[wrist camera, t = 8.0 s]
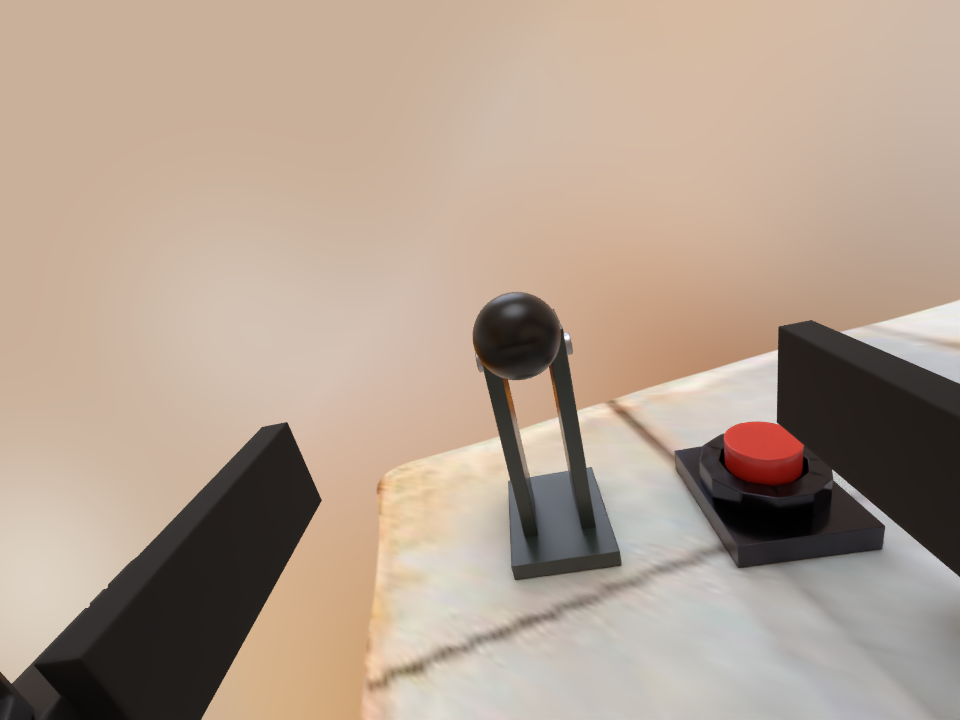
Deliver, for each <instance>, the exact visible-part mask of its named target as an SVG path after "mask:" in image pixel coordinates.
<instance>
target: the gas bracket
mask: <svg viewBox="0 0 960 720" xmlns="http://www.w3.org/2000/svg"><path fill="white" fill-rule="evenodd" d="M552 310H553V311H554V309H552ZM554 313H555V311H554ZM555 315H556V313H555ZM556 317H557V315H556ZM557 319H558V317H557ZM558 322H559V325H560V331H561V341H560V347H559V350H558V353H557V355H556V357H555V359H554V360H553V362H552V363H551V364H550V366H549V368H550V374H551V379H552V385H553V390H554V396H555V401H556V407H557V412H558V417H559V423H560V428H561V434H562V439H563V444H564V450H565V455H566V461H567V466H568V471H565V472H559V473H553V474H547V475H541V476H535V477H530V476H529V472H528V468H527V463H526V459H525V454H524V450H523V445H522V441H521V436H520V432H519V428H518V423H517V418H516V414H515V410H514V405H513V401H512V397H511V392H510V387H509V383H508V379H505V378H502V377H499V376H497V375H495V374H493V373H492V372H491V371H489V370H488V369H487V368H486V367H485V366H484V365H483V364H482V362H481V361H480V360H479V358H478V356H477V354H476V352H475V356H476V362H477V367H478V370H479V371H480V372H484V373H485V378H486V382H487V386H488V390H489V394H490V398H491V402H492V406H493V411H494V415H495V419H496V423H497V427H498V431H499V435H500V439H501V444H502V448H503V452H504V456H505V460H506V464H507V468H508V472H509V476H510V480H511V481H508V487H509V514H510V541H511V567H512V571H513V574H514V578H515V580H516V579H524V578H531V577H538V576H545V575H552V574H560V573H567V572H574V571H581V570H589V569H596V568H603V567H610V566H617V565H621V558H620V551H619V548H618V545H617V542H616V539H615V536H614V533H613V530H612V527H611V524H610V521H609V518H608V515H607V512H606V509H605V506H604V503H603V500H602V497H601V494H600V491H599V488H598V485H597V482H596V479H595V476H594V473H593V470H592V468H591V467H590V468H586V463H585V457H584V451H583V445H582V440H581V434H580V428H579V422H578V416H577V410H576V404H575V398H574V392H573V386H572V380H571V374H570V368H569V362H568V356H567V355H570V354H573V349H572V343H571V338H570V335H569V333H568V332H567V333H564V332H563V328H562V326H561V324H560V321H559V319H558Z"/></svg>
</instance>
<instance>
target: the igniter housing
mask: <svg viewBox="0 0 960 720" xmlns="http://www.w3.org/2000/svg"><path fill="white" fill-rule="evenodd" d="M675 464H676V469H677V471H678V472H679V474H680V476H681V477H682V479H683V480H684V482H685V484H686V485H687V487H688V488H689V490H690V491H691V493H692V495H693V496H694V498H695V499H696V501H697V503H698V504H699V506H700V507H701V509H702V510H703V512H704V514H705V515H706V517H707V518H708V520H709V522H710V523H711V525H712V526H713V528H714V530H715V531H716V533H717V534H718V536H719V537H720V539H721V541H722V542H723V544H724V545H725V547H726V549H727V550H728V552H729V553H730V555H731V557H732V558H733V560H734V561H735V563H736V564H737V566H738V567H739V568H740V567H748V566H755V565H763V564H770V563H778V562H785V561H793V560H800V559H808V558H815V557H822V556H830V555H837V554H845V553H852V552H860V551H867V550H875V549H882V547H883V539H884V531H885V525H883V524H882V523H881V522H880V521H879V520H878V519H877V518H875V517H874V516H873V515H872V514H871V513H870V512H869V511H867V510H866V509H865V508H864V507H863V506H862V505H861V504H860V503H858V502H857V501H856V500H855V499H854V498H853V497H852V496H850V495H849V494H848V493H847V492H846V491H845V490H844V489H842V488H841V487H840V486H839V485H838V484H837V483H836V482H835V481H833V474H832V469H831V468H830V467H829V466H828V465H827V464H826V463H824V462H823V461H822V460H821V459H820V458H818V457H817V456H816V455H815V454H814V453H813V452H811V451H810V450H809V449H808V448H807V447H805V446H804V454H803V472H802V474H801V476H800V477H799V478H798V479H797V480H795V481H794V482H791V483H785V484H779V485H768V484H761V483H754V482H747V481H745V480H743V479H741V478H739V477H737V476H735V475H733V474H732V473H731V472H730V471H729V470H728V469H727V467H726V465H725V462H724V434H722V435H719V436H718V437H716V438H714V439H713V440H711V441H710V442H708V443H706V444H705V445H704V446H702V447H696V448H689V449H683V450H677V451H675Z"/></svg>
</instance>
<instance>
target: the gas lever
mask: <svg viewBox="0 0 960 720" xmlns="http://www.w3.org/2000/svg"><path fill="white" fill-rule="evenodd" d="M560 341H561V331H560V325H559V322H558V319H557V317H556V315H555V313H554V311H553V310H552V309H551V308H550V306H549V305H548V304H546V303H545V302H544V301H543V300H541V299H540V298H538V297H536V296H534V295H531V294H528V293H523V292H512V293H506V294H503V295H500V296H498V297H496V298H494V299H493V300H491V301H490V302H489V303H487V305H485V306H484V308H483V309H482V310H481V311H480V313H479V315H478V316H477V319H476V321H475V324H474V329H473V344H474V348H475V351H476V354H477V356H478V358H479V360H480V361H481V362H482V364H483V365H484V366H485V367H486V368H487V369H488V370H489V371H491V372H492V373H493V374H495V375H497V376H499V377H502V378H505V379H509V380H524V379H528V378H532V377H534V376H536V375H538V374H540V373H542V372H543V371H544V370H545V369H546V368H548V367H549V366H550V364H551V363H552V362H553V360H554V359H555V357H556V355H557V353H558V350H559V347H560Z"/></svg>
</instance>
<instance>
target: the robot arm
mask: <svg viewBox="0 0 960 720" xmlns="http://www.w3.org/2000/svg"><path fill="white" fill-rule="evenodd" d="M778 336H779V337H778V338H779V339H778V392H777V423H778V424H779V425H781V426H782V427H783V428H784V429H785V430H787V431H788V432H789V433H790V434H791V435H792V436H794V437H795V438H796V439H797V440H798V441H800V442H801V443H802V444H803V445H804V446H805V447H807V448H808V449H809V450H810V451H811V452H813V453H814V454H815V455H816V456H817V457H818V458H820V459H821V460H822V461H823V462H824V463H826V464H827V465H828V466H829V467H830V468H831V469H833V470H834V471H835V472H836V473H837V474H839V475H840V476H841V477H842V478H843V479H845V480H846V481H847V482H848V483H849V484H850V485H852V486H853V487H854V488H855V489H856V490H858V491H859V492H860V493H861V494H862V495H863V496H865V497H866V498H867V499H868V500H869V501H871V502H872V503H873V504H874V505H875V506H876V507H878V508H879V509H880V510H881V511H882V512H884V513H885V514H886V515H887V516H888V517H889V518H891V519H892V520H893V521H894V522H895V523H897V524H898V525H899V526H900V527H901V528H902V529H904V530H905V531H906V532H907V533H908V534H910V535H911V536H912V537H913V538H914V539H916V540H917V541H918V542H919V543H920V544H921V545H923V546H924V547H925V548H926V549H927V550H929V551H930V552H931V553H932V554H933V555H934V556H936V557H937V558H938V559H939V560H940V561H942V562H943V563H944V564H945V565H946V566H947V567H949V568H950V569H951V570H952V571H953V572H955V573H956V574H957V575H958V576H959V577H960V384H959V383H956V382H954V381H952V380H949V379H947V378H945V377H942V376H940V375H938V374H935V373H933V372H931V371H928V370H926V369H924V368H921V367H919V366H917V365H915V364H912V363H910V362H908V361H905V360H903V359H901V358H898V357H896V356H894V355H891V354H889V353H887V352H884V351H882V350H880V349H877V348H875V347H873V346H870V345H868V344H866V343H863V342H861V341H859V340H856V339H854V338H852V337H849V336H847V335H845V334H842V333H840V332H838V331H835V330H833V329H831V328H828V327H826V326H824V325H821V324H819V323H816V322H814V321H812V320H810V321H805V322H800V323H795V324H790V325H784V326H779V334H778ZM321 501H322V500H321V498H320V496H319V493H318V491H317V489H316V486H315V484H314V482H313V480H312V477H311V475H310V473H309V471H308V468H307V466H306V464H305V462H304V459H303V457H302V455H301V452H300V450H299V448H298V445H297V443H296V441H295V439H294V436H293V434H292V432H291V430H290V428H289V425H288V423H287V422H286V423H281V424H276V425H271V426H265V427H262V428H261V429H260V430H259V431H258V432H257V433H256V434H255V435H254V436H253V437H252V438H251V439H250V440H249V441H248V442H247V443H246V444H245V445H244V447H243V448H242V449H241V450H240V451H239V452H238V453H237V454H236V455H235V456H234V457H233V458H232V459H231V460H230V461H229V462H228V463H227V464H226V465H225V466H224V467H223V468H222V469H221V470H220V471H219V473H218V474H217V475H216V476H215V477H214V478H213V479H212V480H211V481H210V482H209V483H208V484H207V485H206V486H205V487H204V488H203V489H202V490H201V491H200V492H199V493H198V494H197V495H196V496H195V497H194V498H193V500H192V501H191V502H190V503H189V504H188V505H187V506H186V507H185V508H184V509H183V510H182V511H181V512H180V513H179V514H178V515H177V516H176V517H175V518H174V519H173V520H172V521H171V522H170V523H169V524H168V526H166V528H165V529H164V530H163V531H162V532H161V533H160V534H159V535H158V536H157V537H156V538H155V539H154V540H153V541H152V542H151V543H150V544H149V545H148V546H147V547H146V548H145V549H144V550H143V552H142V553H140V555H139V556H138V557H136V558H135V559H134V560H132V561H131V562H130V563H129V564H128V565H127V566H126V567H125V568H124V569H123V570H122V571H121V572H120V573H119V574H118V575H117V576H116V577H115V578H114V579H113V580H112V581H111V582H110V583H109V584H108V588H107V589H104V590H102V591H101V593H100V594H99V595H98V596H97V597H96V598H95V599H94V600H93V601H92V602H91V603H90V606H89V608H85V609H84V610H83V611H82V612H81V613H80V614H79V615H78V616H77V617H76V618H75V619H74V620H73V622H71V623H70V624H69V626H68V627H67V628H66V629H65V630H64V631H63V632H62V633H61V634H60V635H59V636H58V637H57V638H56V639H55V640H54V641H53V642H52V643H51V644H50V645H49V646H48V647H47V648H46V649H45V651H44V652H43V653H42V654H41V655H39V657H38V658H37V659H36V660H35V661H34V662H33V663H32V664H31V665H30V666H29V667H28V668H27V669H26V670H25V671H24V672H23V673H22V674H21V675H20V676H19V677H18V678H17V679H16V680H15V681H14V682H13V683H12V684H11V683H10V682H9V681H8V680H7V679H6V677H5V676H3V674H2V673H1V672H0V720H201V719H202V717H203V715H204V713H205V711H206V709H207V708H208V706H209V704H210V702H211V700H212V699H213V697H214V695H215V693H216V691H217V689H218V688H219V686H220V684H221V682H222V680H223V679H224V677H225V675H226V673H227V671H228V670H229V668H230V666H231V664H232V662H233V660H234V659H235V657H236V655H237V653H238V651H239V650H240V648H241V646H242V644H243V642H244V641H245V639H246V637H247V635H248V633H249V631H250V629H251V628H252V626H253V624H254V622H255V621H256V619H257V617H258V615H259V613H260V611H261V610H262V608H263V606H264V604H265V602H266V601H267V599H268V597H269V595H270V593H271V592H272V590H273V588H274V586H275V584H276V582H277V581H278V579H279V577H280V575H281V573H282V572H283V570H284V568H285V566H286V564H287V562H288V561H289V559H290V557H291V555H292V553H293V552H294V549H295V548H296V546H297V544H298V543H299V541H300V539H301V537H302V535H303V533H304V532H305V529H306V528H307V526H308V524H309V522H310V521H311V519H312V517H313V515H314V513H315V512H316V510H317V508H318V506H319V504H320V502H321Z"/></svg>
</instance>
